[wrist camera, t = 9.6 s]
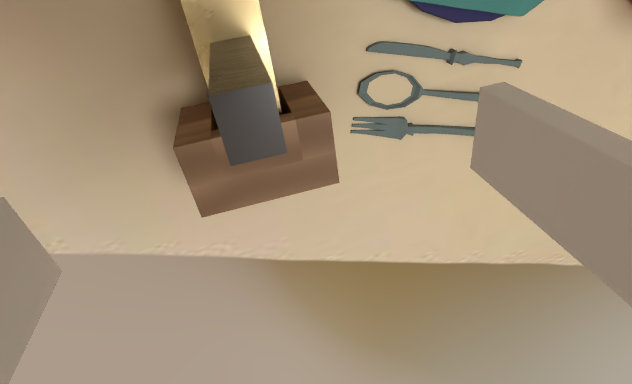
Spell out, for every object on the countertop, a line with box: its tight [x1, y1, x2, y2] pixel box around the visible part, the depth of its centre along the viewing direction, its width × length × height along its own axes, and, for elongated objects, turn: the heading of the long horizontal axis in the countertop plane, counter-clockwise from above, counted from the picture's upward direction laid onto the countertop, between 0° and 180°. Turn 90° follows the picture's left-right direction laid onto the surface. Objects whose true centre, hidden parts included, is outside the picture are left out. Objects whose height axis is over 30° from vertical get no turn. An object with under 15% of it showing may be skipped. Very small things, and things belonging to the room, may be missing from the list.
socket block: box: [173, 81, 339, 217], centre depth 27 cm, size 6×10×7 cm, turn 98°
